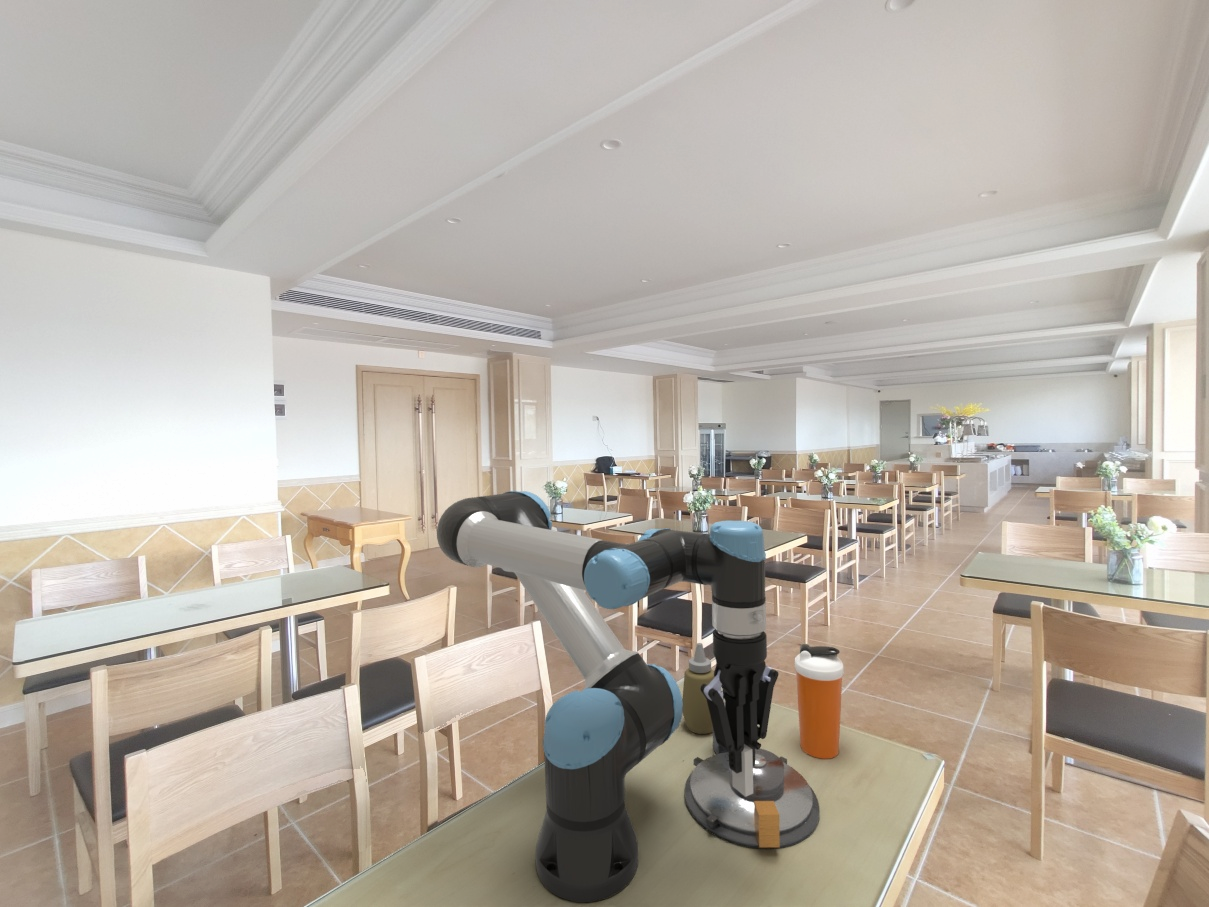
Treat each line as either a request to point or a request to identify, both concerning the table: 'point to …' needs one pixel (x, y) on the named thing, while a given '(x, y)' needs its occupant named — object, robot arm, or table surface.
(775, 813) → the platter
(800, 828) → the turntable base
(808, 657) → the shaker bottle
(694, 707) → the squeeze bottle
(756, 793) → the cover
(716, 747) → the indicator post
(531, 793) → the table surface
